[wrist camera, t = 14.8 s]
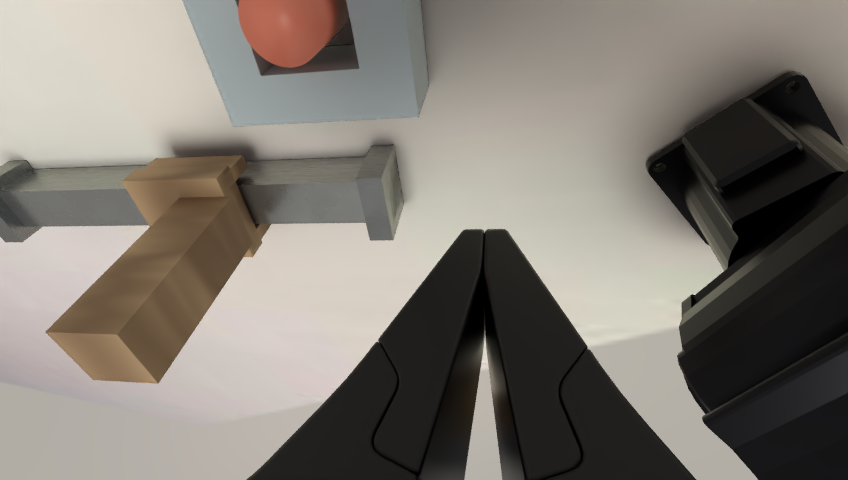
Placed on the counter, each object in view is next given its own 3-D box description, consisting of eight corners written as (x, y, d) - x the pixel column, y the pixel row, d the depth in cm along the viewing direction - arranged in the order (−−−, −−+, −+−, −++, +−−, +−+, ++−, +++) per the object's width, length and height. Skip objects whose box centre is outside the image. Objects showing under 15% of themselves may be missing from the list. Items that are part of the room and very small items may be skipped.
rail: (393, 144, 22) (381, 178, 20) (403, 204, 24) (393, 240, 22) (9, 161, 26) (-42, 190, 24) (47, 210, 28) (5, 242, 26)
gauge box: (405, -148, 15) (385, -154, 12) (429, 84, 20) (418, 116, 17) (190, -114, 16) (130, -113, 14) (262, 95, 21) (229, 126, 19)
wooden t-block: (248, 151, 22) (99, 314, 14) (278, 226, 25) (171, 398, 17) (153, 155, 23) (-40, 310, 15) (193, 227, 26) (52, 390, 18)
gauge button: (341, -46, 16) (308, -29, 13) (356, 35, 18) (330, 64, 15) (271, -37, 17) (224, -20, 14) (292, 40, 18) (255, 70, 16)
